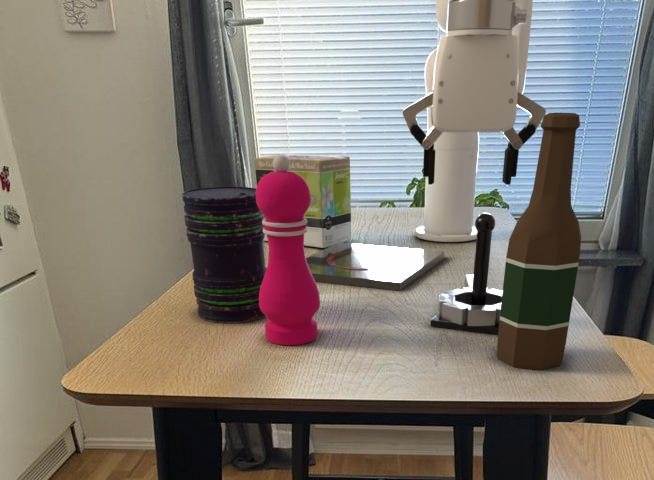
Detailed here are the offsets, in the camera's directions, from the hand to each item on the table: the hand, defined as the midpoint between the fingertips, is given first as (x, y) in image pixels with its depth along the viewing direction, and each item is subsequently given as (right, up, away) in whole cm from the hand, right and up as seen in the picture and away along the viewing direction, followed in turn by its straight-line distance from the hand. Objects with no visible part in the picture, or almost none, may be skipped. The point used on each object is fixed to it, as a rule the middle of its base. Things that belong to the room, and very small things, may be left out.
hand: (468, 183), depth 86 cm
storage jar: (-31, -16, +4) cm, 35 cm away
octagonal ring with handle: (+1, -15, +3) cm, 15 cm away
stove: (-13, -3, +25) cm, 28 cm away
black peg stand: (+1, -17, +1) cm, 17 cm away
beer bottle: (+5, -25, -11) cm, 27 cm away
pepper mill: (-22, -21, -4) cm, 31 cm away
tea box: (-24, +8, +43) cm, 50 cm away
